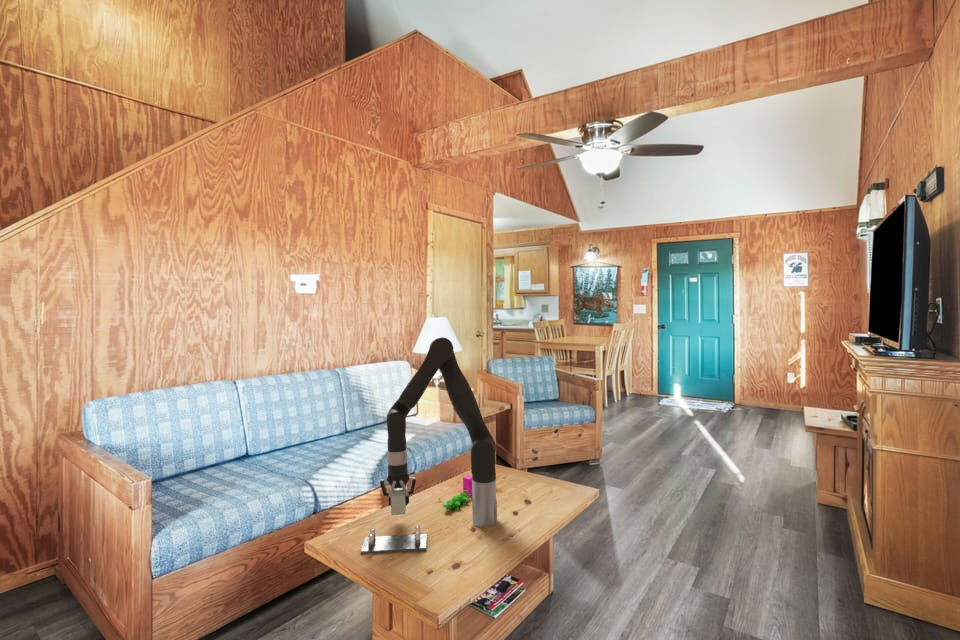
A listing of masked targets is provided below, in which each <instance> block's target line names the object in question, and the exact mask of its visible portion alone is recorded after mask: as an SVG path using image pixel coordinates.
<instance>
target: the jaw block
mask: <svg viewBox="0 0 960 640" xmlns="http://www.w3.org/2000/svg"><path fill="white" fill-rule="evenodd" d="M406 508H407V506H406V501H405V491H403V488H397V489H394V490H393V492H392V493H391V505H390V510H391V512H390V513H391V516H398V515H406V510H407V509H406Z"/></svg>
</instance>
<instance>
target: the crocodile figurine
mask: <svg viewBox="0 0 960 640" xmlns="http://www.w3.org/2000/svg"><path fill="white" fill-rule="evenodd" d="M467 492H468V490H466V491H465V490H464V491H463V490H462V492H459V493H458V494H456V495H454V496H453V497H451V499H449V500H446V501H445V502H443V503H442V506H443V507H444V508H445V512H446V511H447V512H448V511H449V510H452V509H454V510H459V509H460V507H459V506H461V505H464V506H465V505H467V501H468V500H469V498H471V497H470V494H469V495H468V496H467V494H466V493H467Z"/></svg>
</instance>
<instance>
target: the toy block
mask: <svg viewBox="0 0 960 640" xmlns="http://www.w3.org/2000/svg"><path fill="white" fill-rule="evenodd" d="M464 490H465V491H466V490H468V492H467V493H466V494H467V496H468V495H469V494H470V497H469V498H472V476H470V475H469V476H468V475H466V476H463V477H462V492H463V491H464Z"/></svg>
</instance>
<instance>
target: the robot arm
mask: <svg viewBox="0 0 960 640" xmlns="http://www.w3.org/2000/svg"><path fill="white" fill-rule="evenodd" d="M439 370H440V372H441V375H442V378H443V381H444V386H445V389H446V393H447V396H448V398H449V400H450V402H451V405H452V409H454V412H455V413H456V415H457V417H458V419H460V421H461V422H462V423H463V424H464V425H465V427H466V429H467V431H468V435H469V437H470V440H471V444H472V445H471V448H470V468H471V469H470V470H471V471H470V473H471V477H472V497H471V499H472V500H471V501H472V502H471V503H472V504H471V505H472V512H471V513H472V517H471V518H472V525H474V526H475V527H478V528H481V529H483V528H484V529H486V528H488V529H489V528H492V527H494V525H495V526H498V500H497V473H496V451H497V445H496V441H495V439H494V438H493V436H492V434H491V432H490V431H489V429H488V427H487V425H486V423H485V421H484V418H483V416H482V412H481V410H480V407H479V404H478V402H477V399H476V396H475V394H474V392H473V390H472V387H471V385H470V383H469V382H468V380H467V378H466V376H465V375H464V373H463V372H462V370H461V368H460V365H459V363H458V360H457V358H456V355H455V352H454V345H453V343H452V341H451V340H450V339H448V337H443V336H440V337H436V338H434V339H433V340H432V341H431V343H430V344H429V349H428V351H427V353H426V355H425V357H424V360H423V361H422V363H421V364H420V367H419V368H418V369H417V371H416V372H415V374H414V375H413V376H412V377H411V379H410V380H409V382H408V383H407V384H406V386H405V387H404V389H403V391H402V392H401V393H400V395H399V397H398V398H397V400H396V401H395V402H394V403H393V404H392V405H391V407H390V408H389V410H388V412H387V414H386V428H387V454H386V455H387V457H386V459H387V462H386V463H387V477H386V478H381V479H380V480H379V484H380V487H381V492H382V494H383V496H384V497H388V505H389V506H391V493H392V492H393V490H394V489H397V488H403V491H405V501H406V507H407V506H408V505H409V504H410V495H413V494H414V492H415V488H416V483H417V477H416V476H412V477H411V476H410V475H409V470H408V469H409V466H408V465H409V464H408V463H409V462H408V451H407V450H408V449H407V436H406V433H407V432H406V430H407V420H406V419H407V416H408V414H409V413H410V411H411V410H412V409H414V408H415V407H416V405H417V404H418V402H419V401H420V399H421V398H422V396H423V394H425V392H426V390H427V388H428V386H429V384H430V383H431V381H432V379H433V378H434V376H435V375H436V374H437V372H438V371H439ZM409 481H410V484H411V487H410V489H408V486H407V484H408V482H409ZM387 483H388V484H389V485H390V489H389V491H388V490H387V486H386V485H387Z"/></svg>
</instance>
